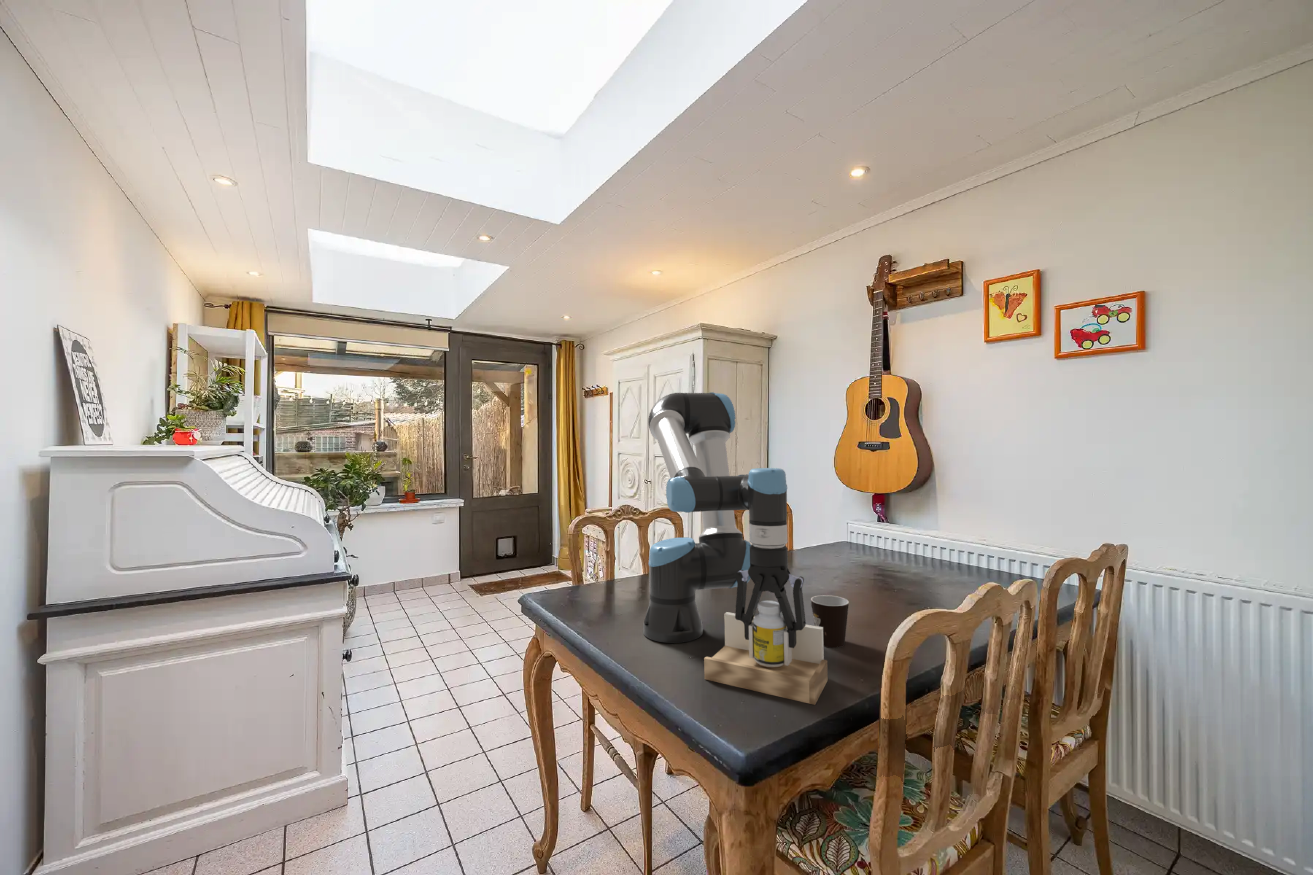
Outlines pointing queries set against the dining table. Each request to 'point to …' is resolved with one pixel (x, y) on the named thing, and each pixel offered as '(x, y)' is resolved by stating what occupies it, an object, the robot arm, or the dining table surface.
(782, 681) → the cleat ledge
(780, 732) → the dining table surface
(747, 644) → the wall board
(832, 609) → the coffee mug
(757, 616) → the pill bottle
